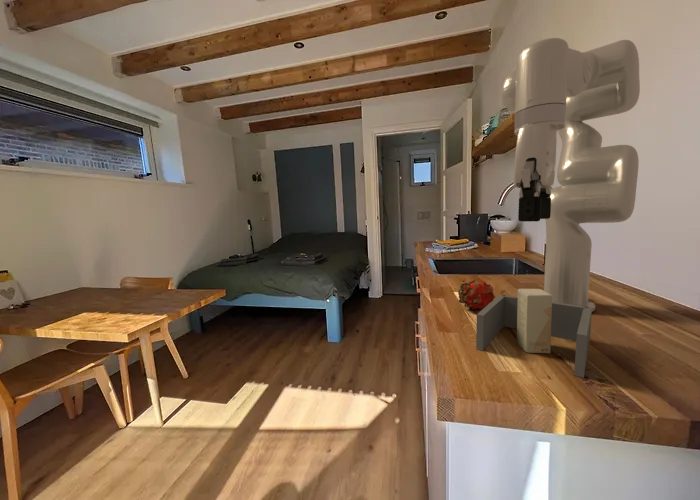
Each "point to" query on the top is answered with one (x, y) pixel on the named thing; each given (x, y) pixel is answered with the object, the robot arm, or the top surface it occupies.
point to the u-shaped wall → (564, 324)
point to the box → (534, 320)
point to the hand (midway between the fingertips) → (535, 219)
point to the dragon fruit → (476, 294)
